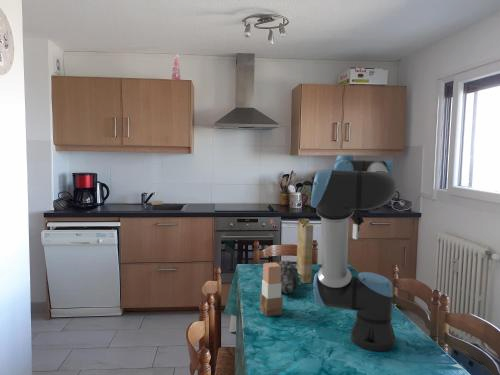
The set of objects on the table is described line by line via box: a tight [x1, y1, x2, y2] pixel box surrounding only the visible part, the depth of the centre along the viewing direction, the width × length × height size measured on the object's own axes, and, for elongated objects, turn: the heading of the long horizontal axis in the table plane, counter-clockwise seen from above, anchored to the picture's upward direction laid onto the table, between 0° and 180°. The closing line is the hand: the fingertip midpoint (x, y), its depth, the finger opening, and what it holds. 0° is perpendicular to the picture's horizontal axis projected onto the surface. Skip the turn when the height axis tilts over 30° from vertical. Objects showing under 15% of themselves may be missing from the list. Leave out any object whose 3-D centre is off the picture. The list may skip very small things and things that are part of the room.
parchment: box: [296, 218, 314, 284], centre depth 202 cm, size 23×6×30 cm, turn 177°
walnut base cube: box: [259, 292, 284, 317], centre depth 156 cm, size 7×7×7 cm
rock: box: [276, 260, 301, 295], centre depth 182 cm, size 22×16×15 cm
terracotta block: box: [262, 262, 281, 284], centre depth 155 cm, size 6×6×7 cm
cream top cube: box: [261, 279, 282, 299], centre depth 155 cm, size 6×6×6 cm
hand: (341, 239), depth 163 cm, fingers open, 13 cm apart
